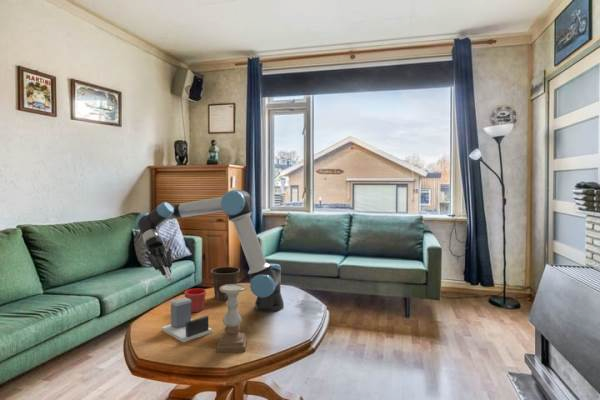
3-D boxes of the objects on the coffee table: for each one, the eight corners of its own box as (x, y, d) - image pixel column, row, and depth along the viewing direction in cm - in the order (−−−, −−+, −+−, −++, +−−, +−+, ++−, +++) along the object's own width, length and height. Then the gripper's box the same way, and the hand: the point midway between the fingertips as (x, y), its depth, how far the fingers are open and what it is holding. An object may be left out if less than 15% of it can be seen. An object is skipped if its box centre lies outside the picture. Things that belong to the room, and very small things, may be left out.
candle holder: (220, 340, 148) (220, 283, 147) (246, 339, 149) (247, 283, 148) (216, 352, 137) (216, 291, 136) (245, 352, 138) (245, 290, 137)
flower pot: (209, 306, 189) (209, 288, 189) (201, 313, 178) (201, 294, 178) (189, 305, 190) (189, 287, 190) (180, 313, 179) (180, 293, 179)
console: (161, 330, 158) (161, 313, 157) (190, 321, 168) (190, 305, 168) (183, 342, 146) (183, 324, 145) (212, 332, 156) (212, 315, 156)
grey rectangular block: (170, 325, 159) (170, 300, 159) (185, 320, 165) (185, 297, 164) (176, 328, 156) (176, 303, 155) (191, 323, 161) (191, 299, 161)
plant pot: (230, 303, 194) (230, 274, 193) (205, 300, 200) (205, 271, 199) (245, 295, 209) (245, 268, 209) (221, 292, 215) (221, 265, 214)
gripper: (163, 243, 184) (180, 281, 173) (136, 246, 174) (153, 287, 163) (168, 234, 180) (185, 272, 169) (141, 237, 170) (158, 278, 159)
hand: (169, 280), depth 166 cm, fingers closed
